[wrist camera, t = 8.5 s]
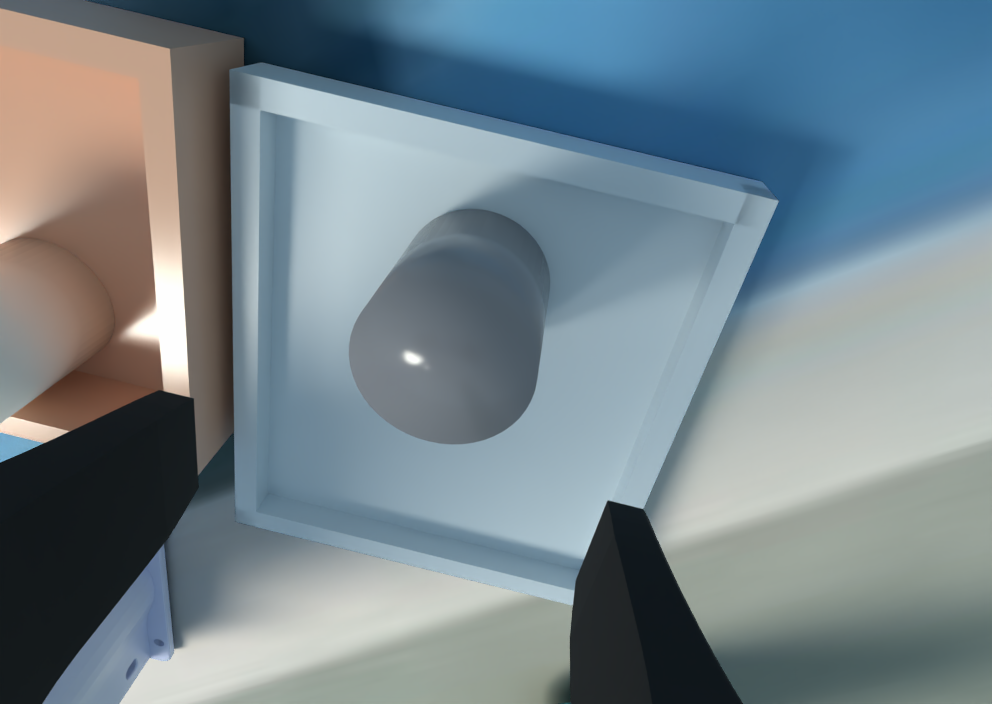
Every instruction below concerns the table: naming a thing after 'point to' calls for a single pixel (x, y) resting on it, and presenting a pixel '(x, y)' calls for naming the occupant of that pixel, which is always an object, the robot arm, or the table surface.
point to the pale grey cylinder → (46, 319)
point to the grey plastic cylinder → (455, 330)
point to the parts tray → (566, 341)
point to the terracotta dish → (126, 199)
